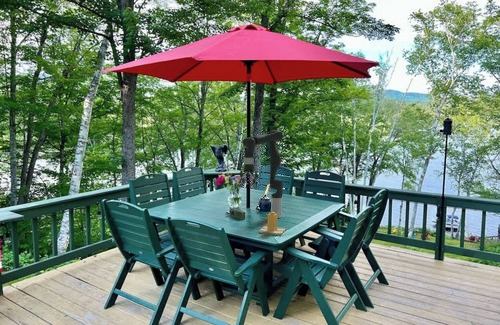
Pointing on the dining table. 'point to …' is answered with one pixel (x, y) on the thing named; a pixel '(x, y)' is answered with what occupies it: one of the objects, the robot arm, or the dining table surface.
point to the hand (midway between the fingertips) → (248, 183)
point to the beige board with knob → (277, 232)
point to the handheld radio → (236, 213)
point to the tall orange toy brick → (272, 221)
